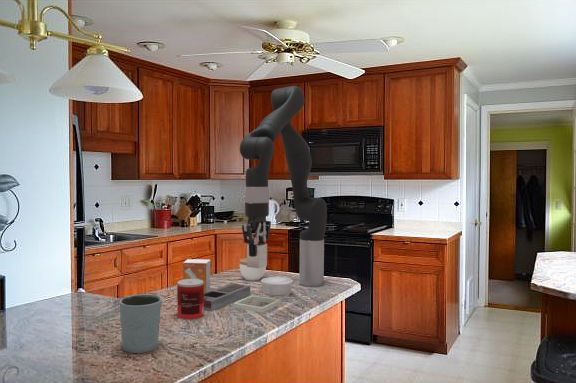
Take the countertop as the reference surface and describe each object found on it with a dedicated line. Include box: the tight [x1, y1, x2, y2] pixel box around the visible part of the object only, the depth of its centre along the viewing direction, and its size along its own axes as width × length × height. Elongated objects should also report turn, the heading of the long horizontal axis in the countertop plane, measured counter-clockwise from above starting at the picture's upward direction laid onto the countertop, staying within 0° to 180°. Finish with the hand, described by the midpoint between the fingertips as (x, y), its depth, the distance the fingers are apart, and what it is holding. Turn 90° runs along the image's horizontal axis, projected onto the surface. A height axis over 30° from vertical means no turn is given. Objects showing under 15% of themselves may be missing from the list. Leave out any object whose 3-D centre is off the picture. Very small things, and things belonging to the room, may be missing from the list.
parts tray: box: [232, 294, 282, 314], centre depth 156 cm, size 11×11×2 cm
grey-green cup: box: [118, 293, 163, 354], centre depth 122 cm, size 10×10×12 cm
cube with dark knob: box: [246, 242, 268, 268], centre depth 155 cm, size 5×5×7 cm
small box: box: [182, 258, 212, 293], centre depth 167 cm, size 8×6×13 cm
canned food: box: [176, 279, 205, 320], centre depth 145 cm, size 8×8×11 cm
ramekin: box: [260, 276, 294, 297], centre depth 173 cm, size 11×11×5 cm
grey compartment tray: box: [204, 283, 251, 312], centre depth 161 cm, size 22×8×4 cm, turn 152°
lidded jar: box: [239, 257, 267, 282], centre depth 196 cm, size 11×11×9 cm
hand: (256, 254), depth 155 cm, fingers closed on cube with dark knob, 4 cm apart
